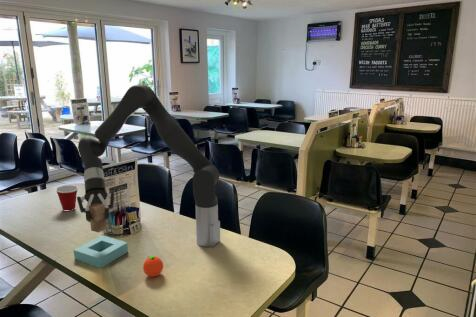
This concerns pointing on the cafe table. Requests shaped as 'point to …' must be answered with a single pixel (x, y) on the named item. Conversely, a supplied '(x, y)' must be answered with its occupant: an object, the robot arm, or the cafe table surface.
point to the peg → (97, 217)
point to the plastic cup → (67, 196)
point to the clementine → (153, 266)
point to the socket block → (99, 259)
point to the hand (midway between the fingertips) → (98, 219)
